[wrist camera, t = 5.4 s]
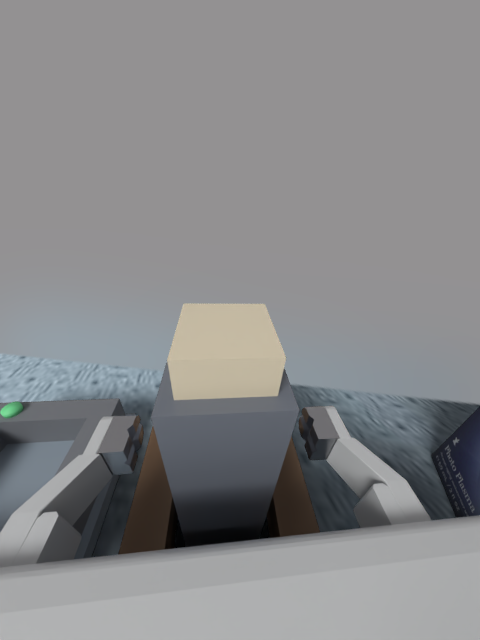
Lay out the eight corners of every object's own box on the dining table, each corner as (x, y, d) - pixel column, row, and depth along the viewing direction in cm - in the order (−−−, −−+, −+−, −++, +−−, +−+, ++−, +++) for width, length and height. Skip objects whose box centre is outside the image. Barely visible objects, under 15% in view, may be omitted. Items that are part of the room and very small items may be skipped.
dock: (137, 420, 18) (127, 389, 16) (68, 625, 10) (27, 614, 8) (6, 426, 17) (-23, 394, 15) (-199, 662, 9) (-330, 661, 7)
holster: (276, 427, 18) (282, 405, 17) (322, 614, 10) (341, 604, 9) (162, 434, 17) (156, 410, 16) (115, 645, 9) (94, 641, 8)
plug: (249, 465, 16) (274, 298, 9) (258, 541, 12) (311, 371, 5) (193, 469, 15) (171, 297, 8) (186, 549, 12) (140, 376, 5)
